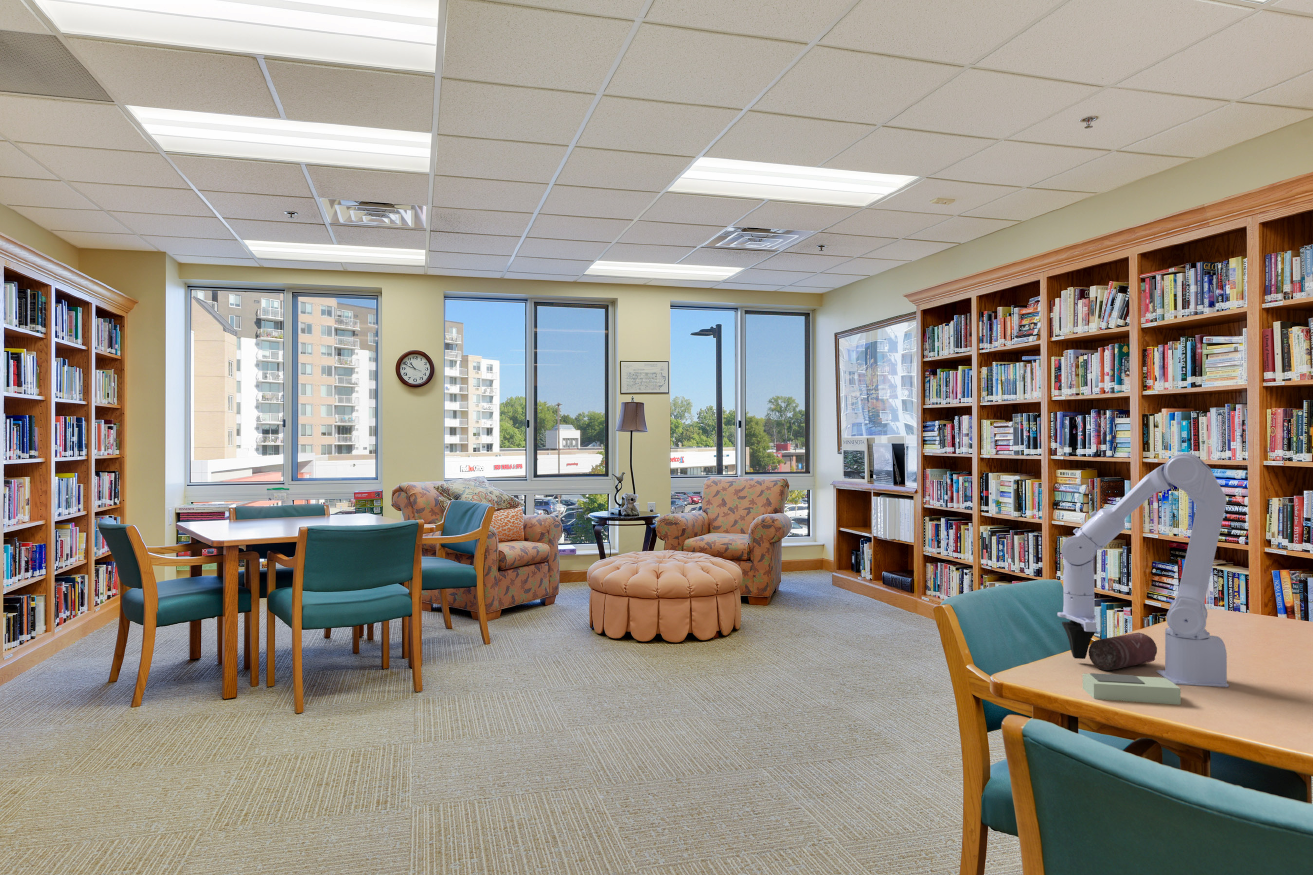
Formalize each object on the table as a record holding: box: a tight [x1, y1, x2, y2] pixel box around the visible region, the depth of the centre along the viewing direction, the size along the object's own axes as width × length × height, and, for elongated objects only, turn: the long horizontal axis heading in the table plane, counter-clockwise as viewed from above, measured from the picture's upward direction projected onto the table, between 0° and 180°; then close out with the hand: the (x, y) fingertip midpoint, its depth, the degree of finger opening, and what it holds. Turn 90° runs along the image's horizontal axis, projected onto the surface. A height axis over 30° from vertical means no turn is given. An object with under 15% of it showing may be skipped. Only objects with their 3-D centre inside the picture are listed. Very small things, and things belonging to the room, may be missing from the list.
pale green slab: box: [1082, 672, 1182, 705], centre depth 142 cm, size 14×6×3 cm, turn 78°
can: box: [1088, 632, 1158, 672], centre depth 161 cm, size 6×6×14 cm
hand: (1079, 657), depth 163 cm, fingers closed
